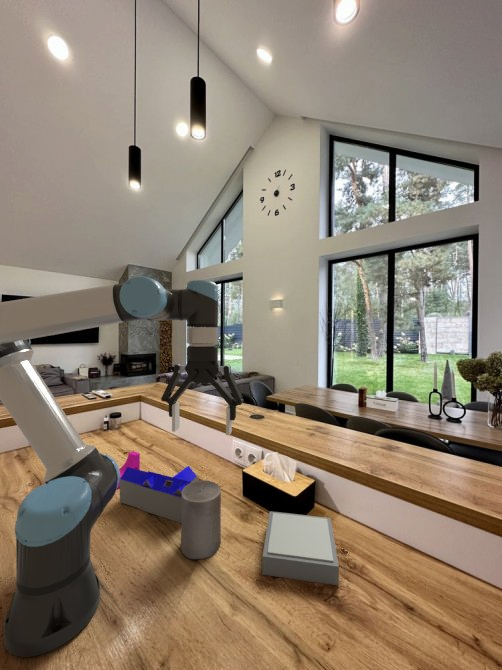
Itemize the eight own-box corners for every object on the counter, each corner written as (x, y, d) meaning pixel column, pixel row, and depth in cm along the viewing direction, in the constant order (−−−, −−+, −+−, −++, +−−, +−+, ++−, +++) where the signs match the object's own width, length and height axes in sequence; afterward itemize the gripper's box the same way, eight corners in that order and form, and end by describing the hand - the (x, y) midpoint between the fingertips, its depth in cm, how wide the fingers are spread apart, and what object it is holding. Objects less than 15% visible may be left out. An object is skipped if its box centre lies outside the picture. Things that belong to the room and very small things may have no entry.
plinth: (338, 585, 61) (338, 565, 60) (262, 574, 63) (262, 554, 63) (330, 533, 76) (330, 516, 76) (269, 525, 79) (269, 510, 79)
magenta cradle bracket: (104, 495, 93) (104, 471, 93) (93, 489, 97) (93, 466, 97) (144, 475, 106) (144, 455, 106) (133, 471, 109) (133, 451, 109)
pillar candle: (202, 526, 78) (203, 471, 78) (228, 543, 72) (229, 483, 72) (172, 547, 71) (172, 486, 71) (198, 568, 65) (199, 501, 65)
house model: (118, 503, 89) (118, 470, 89) (152, 480, 103) (153, 452, 103) (186, 525, 79) (186, 489, 79) (214, 496, 93) (214, 465, 93)
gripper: (255, 345, 73) (254, 429, 73) (161, 343, 77) (161, 423, 77) (250, 346, 65) (249, 440, 66) (147, 345, 69) (146, 433, 70)
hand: (202, 431), depth 71 cm, fingers open, 13 cm apart
